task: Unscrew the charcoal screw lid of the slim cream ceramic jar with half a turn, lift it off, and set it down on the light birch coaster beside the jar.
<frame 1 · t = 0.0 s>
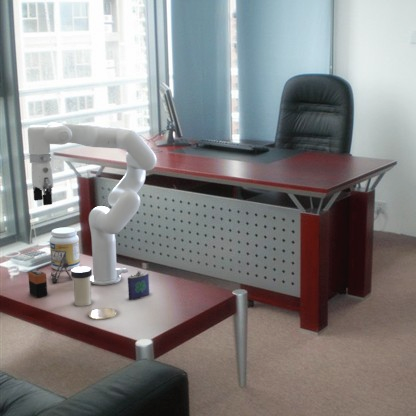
hand: (43, 202, 258), 37 cm above the table, tool pointing down, fingers open, 9 cm apart
coaster: (102, 314, 246), on the table
jar: (83, 303, 256), on the table
battery: (38, 295, 264), on the table
lid: (81, 270, 253), point 13 cm above the table, screwed on, not yet turned
tablet stand: (61, 279, 282), on the table
supplement tub: (66, 267, 298), on the table
flask: (139, 297, 264), on the table
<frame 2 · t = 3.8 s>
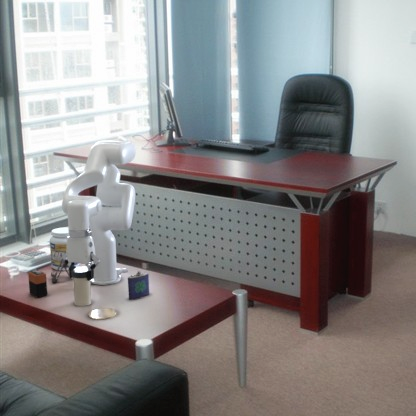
hand: (81, 278, 254), 10 cm above the table, tool pointing down, fingers closed on lid, 7 cm apart
lid: (81, 270, 253), point 13 cm above the table, screwed on, not yet turned, touching gripper
everything else where it was.
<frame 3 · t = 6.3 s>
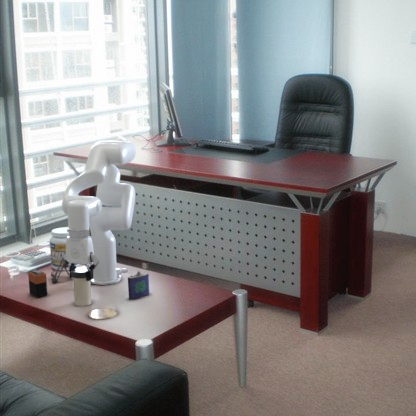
hand: (81, 278, 254), 10 cm above the table, tool pointing down, fingers closed on lid, 7 cm apart
lid: (81, 270, 253), point 13 cm above the table, off its thread, touching gripper
everything else where it was.
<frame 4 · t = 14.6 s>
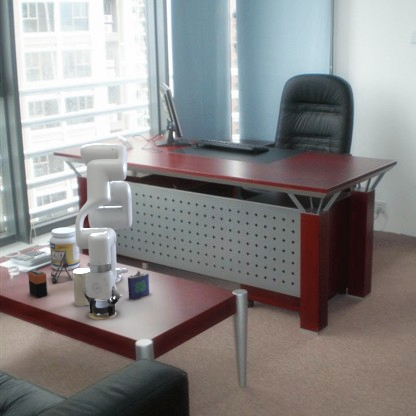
hand: (102, 313, 246), 1 cm above the table, tool pointing down, fingers closed on lid, 7 cm apart
lid: (102, 305, 245), point 4 cm above the table, off its thread, touching gripper
everything else where it was.
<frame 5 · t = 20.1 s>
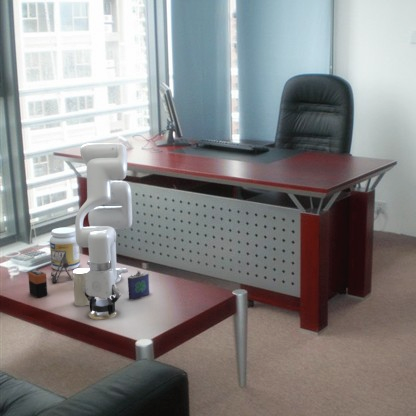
hand: (102, 311, 246), 1 cm above the table, tool pointing down, fingers closed on lid, 7 cm apart
lid: (102, 303, 245), point 4 cm above the table, off its thread, touching gripper
everything else where it was.
when the fingers open (1 cm above the table, at t = 25.4 s): lid drops 2 cm, resting on coaster.
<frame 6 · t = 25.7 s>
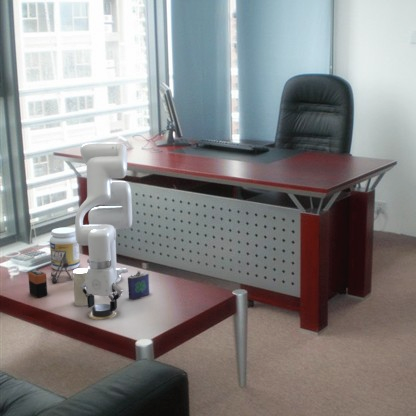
hand: (102, 308, 246), 2 cm above the table, tool pointing down, fingers open, 9 cm apart
lid: (102, 308, 246), point 2 cm above the table, off its thread, touching coaster
everything else where it was.
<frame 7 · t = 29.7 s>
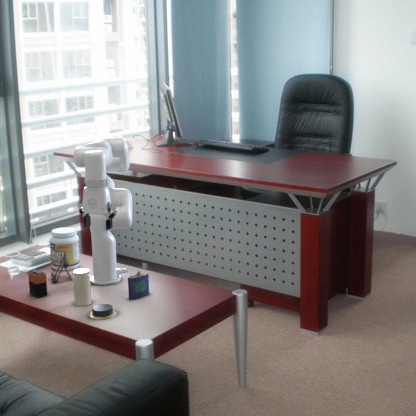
hand: (98, 227, 256), 28 cm above the table, tool pointing down, fingers open, 9 cm apart
nothing on the table moved.
at the end: lid 0.0 cm from the coaster (horizontally); lid point 2.3 cm above the table; jar moved 0.0 cm from its start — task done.
